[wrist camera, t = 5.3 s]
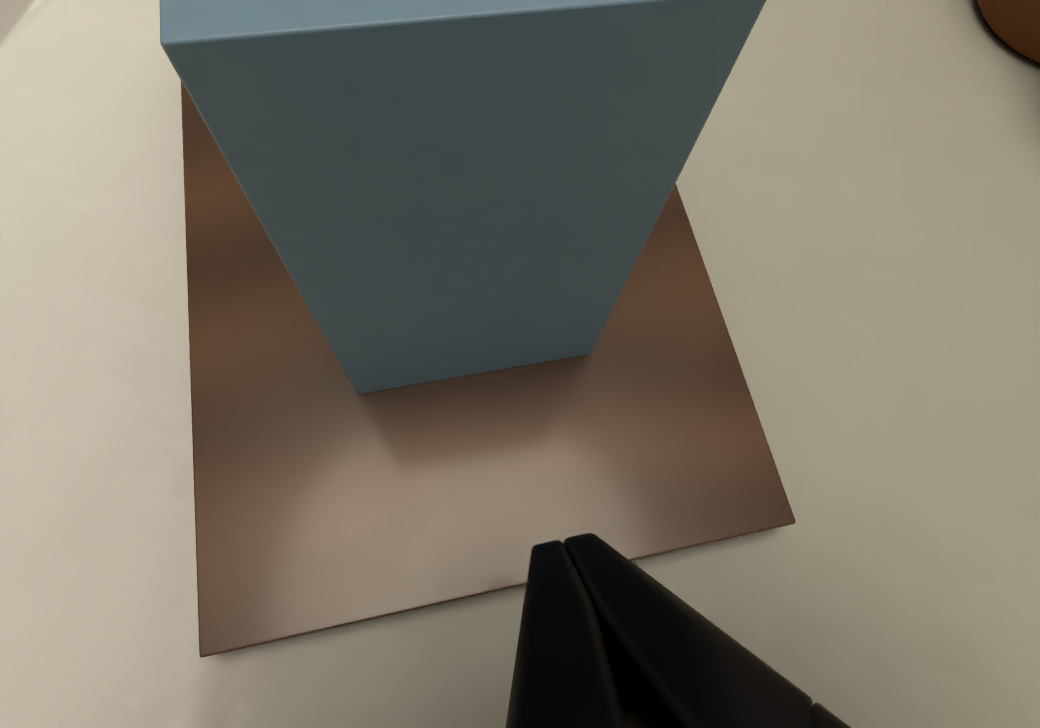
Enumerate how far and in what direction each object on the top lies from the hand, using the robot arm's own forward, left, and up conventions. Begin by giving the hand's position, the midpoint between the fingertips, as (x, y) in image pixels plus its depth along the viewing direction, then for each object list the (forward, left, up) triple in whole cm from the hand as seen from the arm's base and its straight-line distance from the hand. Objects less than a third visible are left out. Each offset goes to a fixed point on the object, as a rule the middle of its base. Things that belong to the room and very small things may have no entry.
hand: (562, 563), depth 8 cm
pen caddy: (+6, +8, -8) cm, 13 cm away
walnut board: (+7, +8, -10) cm, 15 cm away
